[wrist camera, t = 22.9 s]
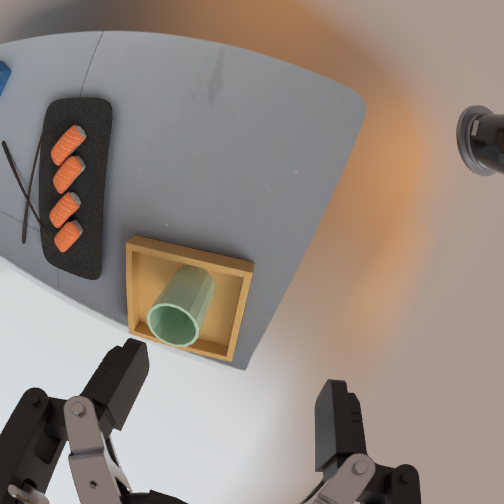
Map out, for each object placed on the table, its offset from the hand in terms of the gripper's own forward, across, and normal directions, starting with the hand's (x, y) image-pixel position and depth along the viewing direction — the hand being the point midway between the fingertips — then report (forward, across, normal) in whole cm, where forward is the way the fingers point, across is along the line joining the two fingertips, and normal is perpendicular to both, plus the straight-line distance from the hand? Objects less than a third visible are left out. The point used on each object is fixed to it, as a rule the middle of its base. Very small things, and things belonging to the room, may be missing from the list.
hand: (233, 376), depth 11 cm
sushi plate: (+26, +38, +1) cm, 46 cm away
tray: (+26, +10, +17) cm, 33 cm away
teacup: (+26, +9, +14) cm, 30 cm away
